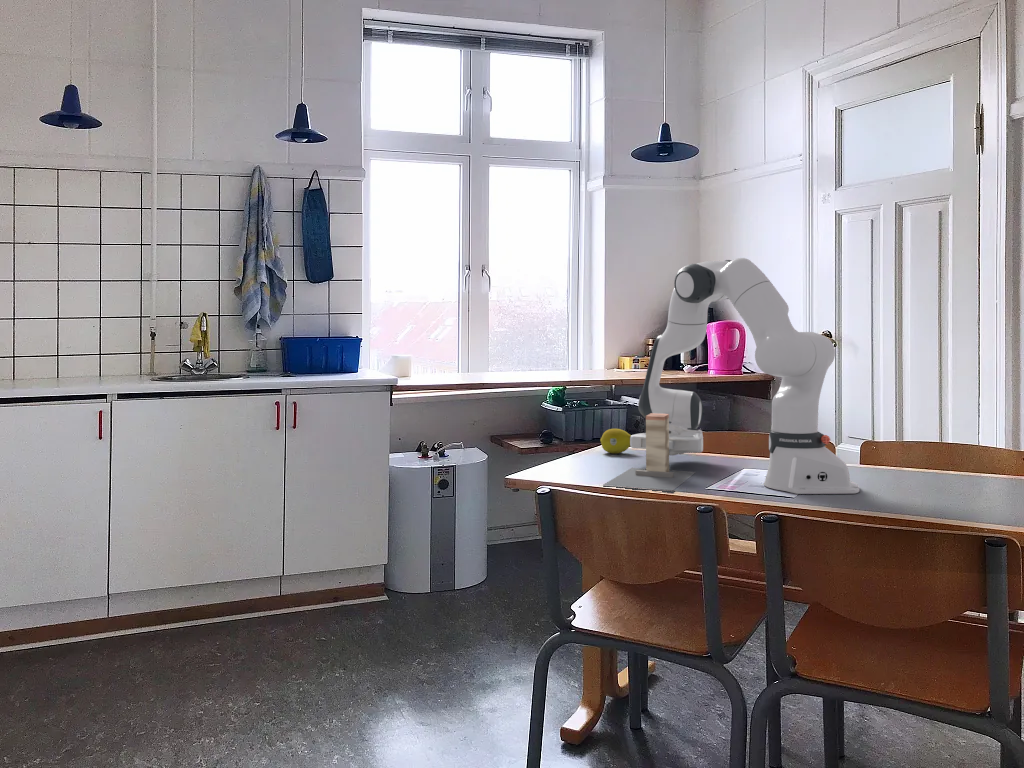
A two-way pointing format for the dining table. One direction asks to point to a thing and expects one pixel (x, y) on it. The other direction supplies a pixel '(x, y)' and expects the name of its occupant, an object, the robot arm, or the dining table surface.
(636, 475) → the mat
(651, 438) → the birch block
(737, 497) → the dining table surface
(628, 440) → the lemon
